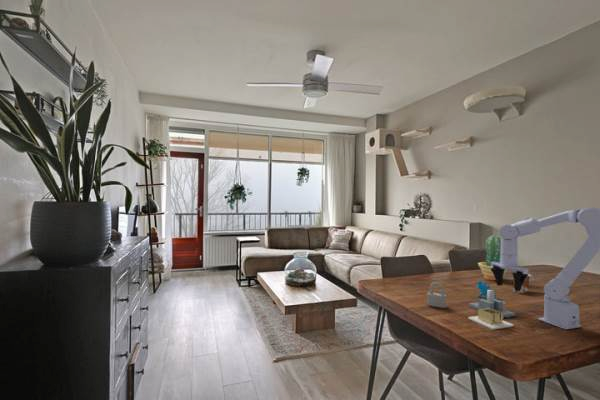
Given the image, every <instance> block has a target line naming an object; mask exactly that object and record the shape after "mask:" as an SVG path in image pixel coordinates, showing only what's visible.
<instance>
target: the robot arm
mask: <svg viewBox="0 0 600 400" xmlns="http://www.w3.org/2000/svg"><path fill="white" fill-rule="evenodd" d="M566 222H568V223H573V224H575V223H580V225H582V226H583V227H584V228H585V231H586V233H587V236H588V238H586V240H585V241H584V243H582V245H581V246H580V247H579V249H577V251H576V252H575V254H574V255H573V256H572V257H571V258H570V259H569V261H568V262H567V263H566V264H565V266H564V267H563V269H562V270H561V271H560V272H559V273H558V274H557V275H556V276H555V277H554V278H553V279H550V281H549V282H547V283H545V284H544V286H543V293H544V294H543V295H544V296H543V298H544V300H543V301H544V302H543V308H544V309H543V317H538V318H537V320H538V321H542V322H544V323H547V324H549V325H553V326H556V327H558V328H561V329H564V330H570V329H571V330H572V329H576V328H582V327H581V324H580V306H579V304H577V303H575V302H572V301H571V298H570V297H569V295H568V294H569V293H570V290H571V285H573V282H574V281H575V280H577V278H578V277H579V275H580V274H581V273H582V272H583V271H584V270H585V268H587V266H588V265H589V264H590V263H591V261H592V260H593V259H594V258H595V256H596V255H598V253H599V252H600V208H598V207H584V208H581V209H580V208H579V209H571V210H567V211H564V212H559V213H557V214H553V215H550V216H547V217H543V218H541V219H536V218H534V217H525V218H524V220H520V221H513V222H511V224H504V225H502V226H501V227H500V228H499V230H498V234H499V237H500V238H501V255H500V261H499V262H491V266H492V267H493V268H491V271H492V272H493V274H494V276H495V279H496V286H503V280H504V276H503V274H504V270H505V269H506V270H507V271H512V276H513V280H514V282H515V291H516V292H519V291H520V290H521V288H522V284H523V282H524V280H525V279H526V277H527V276H528V275H529V274H530V270H529V268H526V267H524V266H523V267H522V266H520V265H518V251H519V249H518V247H519V245H518V238H519V237H525V236H530V235H533V234H536V233H540V231H541V230H542V228H545V227H549V226H554V225H558V224H562V223H566Z"/></svg>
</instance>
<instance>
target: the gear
mask: <svg viewBox="0 0 600 400" xmlns="http://www.w3.org/2000/svg"><path fill="white" fill-rule="evenodd" d="M476 284H477V286H476V287H477V289H479V290H478V291H479V294H478V295H477V298H480V297H484V298H487V290H493V291H494V292H495V289H494V288H491V286H490V285H489V284H487V283H486V282H485V281H481V280H479V281H478V282H476ZM494 299H496V300H498V297H497V294H496V293H494Z"/></svg>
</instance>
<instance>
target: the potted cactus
mask: <svg viewBox="0 0 600 400" xmlns="http://www.w3.org/2000/svg"><path fill="white" fill-rule="evenodd" d="M485 251H486V259H485V261H483V262H482V261H481V262H477V264H478V268H479V269H480V271H481V273H482V274H483V276H484V277H483V279H485V278H486V280H489V279H490V281H495V280H496V279H495V276H494V274H493V272H492V271H491V268H493V267H492V266H491V262H499V263H500V255H501V236H500V235H496V236H495V235H490V236H489V237H488V238H487V239H486V241H485ZM507 271H508V270H506V269H505V270H504V274H503V277H505V275H506V273H507Z"/></svg>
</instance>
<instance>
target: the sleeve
mask: <svg viewBox="0 0 600 400" xmlns="http://www.w3.org/2000/svg"><path fill="white" fill-rule="evenodd" d="M477 316H478V319H480V320H482V321H484V322H487V323H489V324H491V325H492V324H499V323H503V321H504V318H503V313H501V312H499V311H496V310H493V309H491V308H485V309H478V310H477Z"/></svg>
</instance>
